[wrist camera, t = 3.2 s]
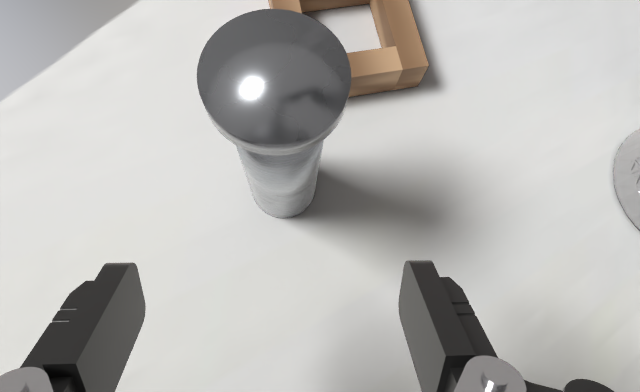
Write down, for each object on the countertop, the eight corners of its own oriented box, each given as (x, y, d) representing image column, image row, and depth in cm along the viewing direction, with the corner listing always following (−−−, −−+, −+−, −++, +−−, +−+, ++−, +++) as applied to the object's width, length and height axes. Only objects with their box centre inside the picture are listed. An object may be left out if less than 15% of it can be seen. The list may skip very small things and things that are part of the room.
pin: (315, 142, 28) (333, 0, 15) (332, 218, 26) (367, 130, 14) (236, 156, 27) (187, 19, 15) (249, 234, 26) (208, 156, 13)
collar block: (386, -19, 32) (393, -47, 29) (417, 86, 29) (428, 65, 27) (267, -4, 31) (265, -31, 28) (290, 106, 28) (290, 86, 26)
